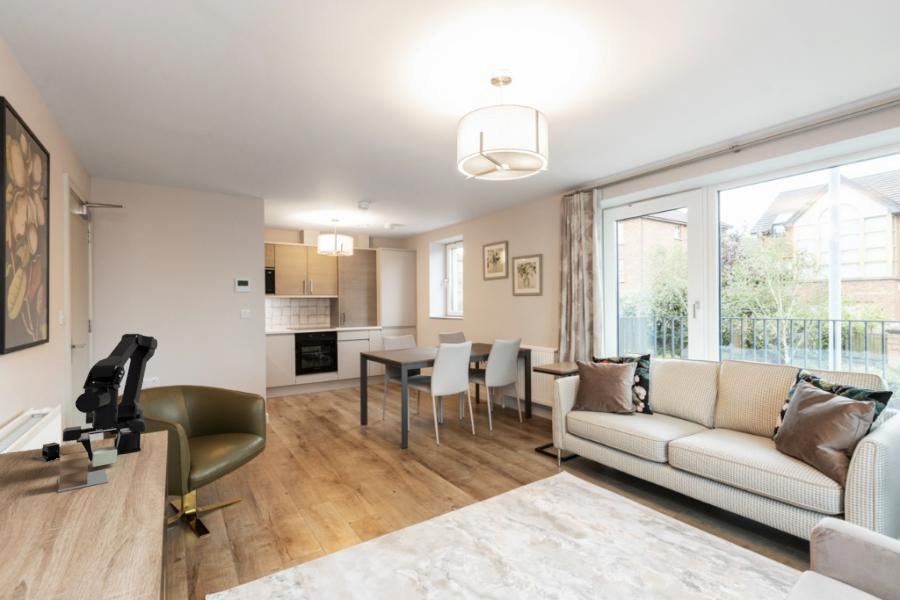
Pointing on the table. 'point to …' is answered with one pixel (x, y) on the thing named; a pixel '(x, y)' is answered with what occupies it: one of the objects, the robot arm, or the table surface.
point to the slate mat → (90, 480)
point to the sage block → (104, 456)
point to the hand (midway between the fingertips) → (104, 458)
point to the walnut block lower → (73, 480)
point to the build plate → (49, 452)
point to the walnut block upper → (73, 463)
